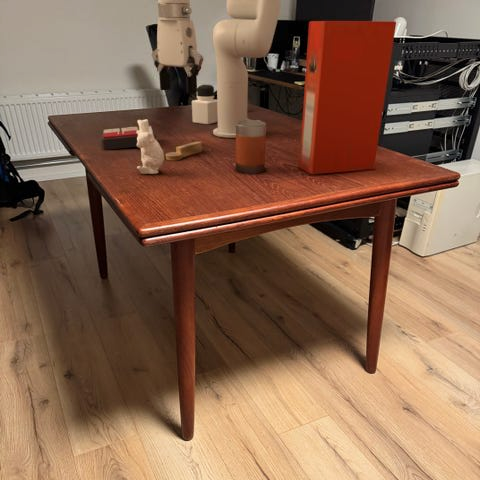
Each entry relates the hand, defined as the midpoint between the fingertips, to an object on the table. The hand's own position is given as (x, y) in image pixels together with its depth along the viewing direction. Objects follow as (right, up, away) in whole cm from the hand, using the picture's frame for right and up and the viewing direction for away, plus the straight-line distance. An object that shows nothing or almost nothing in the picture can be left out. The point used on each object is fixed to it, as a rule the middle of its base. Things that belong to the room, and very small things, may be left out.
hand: (178, 91), depth 123 cm
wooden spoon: (0, -14, +8) cm, 16 cm away
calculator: (-17, -7, +19) cm, 26 cm away
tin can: (+19, -21, -3) cm, 29 cm away
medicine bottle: (+4, +12, +48) cm, 49 cm away
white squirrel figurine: (-6, -23, -5) cm, 24 cm away
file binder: (+41, -20, -1) cm, 46 cm away
